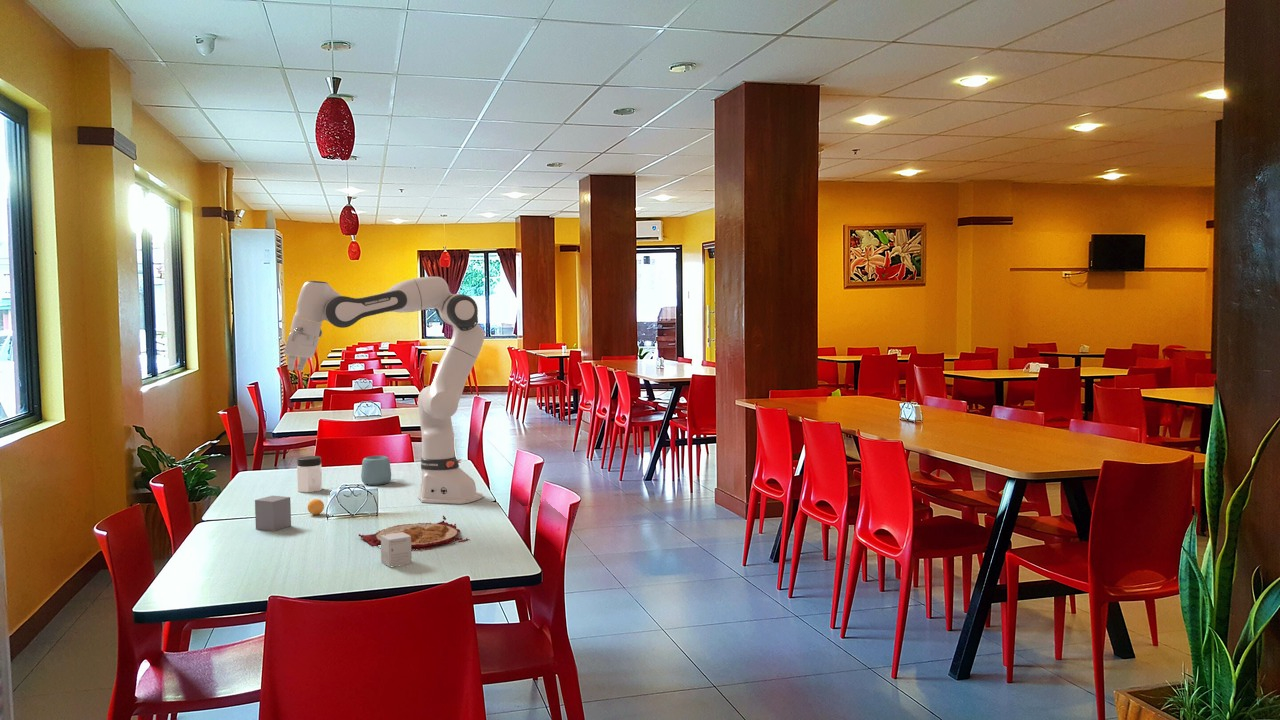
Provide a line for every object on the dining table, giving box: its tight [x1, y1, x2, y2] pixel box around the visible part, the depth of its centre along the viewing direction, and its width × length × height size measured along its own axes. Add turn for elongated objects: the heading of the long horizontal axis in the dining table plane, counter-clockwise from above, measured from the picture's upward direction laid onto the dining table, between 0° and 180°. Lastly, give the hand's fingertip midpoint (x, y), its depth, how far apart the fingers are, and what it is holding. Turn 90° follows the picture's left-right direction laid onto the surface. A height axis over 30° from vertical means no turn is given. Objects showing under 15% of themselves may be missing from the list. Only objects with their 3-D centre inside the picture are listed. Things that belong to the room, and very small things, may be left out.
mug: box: [360, 455, 392, 486], centre depth 337 cm, size 15×11×10 cm
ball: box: [307, 498, 325, 516], centre depth 284 cm, size 5×5×5 cm
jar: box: [296, 455, 323, 493], centre depth 323 cm, size 9×8×12 cm
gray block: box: [254, 495, 292, 532], centre depth 268 cm, size 7×7×9 cm
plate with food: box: [358, 515, 471, 552], centre depth 253 cm, size 25×26×4 cm
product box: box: [380, 532, 413, 568], centre depth 229 cm, size 6×6×7 cm
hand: (295, 370), depth 287 cm, fingers open, 8 cm apart
